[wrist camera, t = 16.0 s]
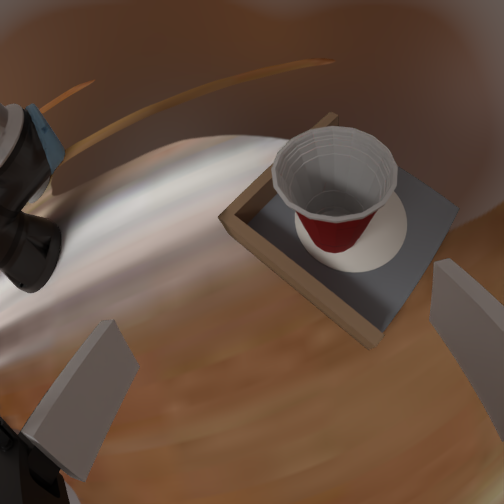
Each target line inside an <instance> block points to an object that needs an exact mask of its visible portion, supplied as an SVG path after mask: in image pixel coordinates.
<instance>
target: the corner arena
mask: <svg viewBox="0 0 504 504" xmlns="http://www.w3.org/2000/svg"><path fill="white" fill-rule="evenodd" d="M328 126H339V116H338V115H337V114H335V113H332V112H329V113H328V114H327V115H326V116H325V117H324V118H323V119H321V120H320V121H319V122H318V123H317V124H316V125H315V126H314V127H312V128H311V129H316V128H322V127H328ZM272 166H273V164H272V165H271V166H270V167H269V168H267V169H266V170H265V171H264V172H263V173H262V174H261V175H260V176H259V177H258V178H257V179H256V180H255V181H254V182H253V183H252V184H251V185H250V186H249V187H248V188H247V189H245V190H244V191H243V192H242V193H241V194H240V195H239V196H238V197H237V198H236V199H235V200H234V201H233V202H232V203H231V204H230V205H229V206H228V207H227V208H226V209H225V210H224V211H223V212H222V213H221V214H220V215H219V216H218V218H219V220H220V221H221V223H222V224H223V226H224V228H225V229H226V231H227V232H228V234H229V235H231V236H232V237H233V238H234V239H235V240H237V241H238V242H239V243H240V244H241V245H243V246H244V247H245V248H246V249H247V250H249V251H250V252H251V253H252V254H253V255H255V256H256V257H257V258H258V259H259V260H261V261H262V262H263V263H264V264H265V265H267V266H268V267H269V268H270V269H271V270H273V271H274V272H275V273H276V274H277V275H279V276H280V277H281V278H282V279H283V280H285V281H286V282H287V283H288V284H289V285H291V286H292V287H293V288H294V289H295V290H297V291H298V292H299V293H300V294H301V295H303V296H304V297H305V298H306V299H307V300H309V301H310V302H311V303H312V304H313V305H315V306H316V307H317V308H318V309H320V310H321V311H322V312H323V313H324V314H326V315H327V316H328V317H329V318H330V319H332V320H333V321H334V322H335V323H336V324H338V325H339V326H340V327H341V328H342V329H344V330H345V331H346V332H347V333H348V334H350V335H351V336H352V337H353V338H354V339H356V340H357V341H358V342H359V343H360V344H362V345H363V346H364V347H365V348H366V349H368V350H369V349H372V348H374V347H376V346H377V345H378V344H379V342H380V341H381V340H382V338H383V337H384V336H385V335H384V334H383V332H384V330H385V329H386V328H387V326H388V325H389V324H390V322H391V321H392V320H393V318H394V317H395V315H396V314H397V313H398V311H399V310H400V308H401V307H402V305H403V304H404V303H405V301H406V300H407V298H408V297H409V295H410V294H411V292H412V291H413V289H414V288H415V286H416V285H417V283H418V282H419V280H420V278H421V277H422V275H423V274H424V272H425V270H426V269H427V267H428V265H429V264H430V262H431V260H432V259H433V257H434V255H435V254H436V252H437V250H438V248H439V247H440V245H441V243H442V241H443V240H444V238H445V236H446V234H447V232H448V230H449V228H450V226H451V225H452V223H453V221H454V219H455V217H456V215H457V213H458V211H459V208H458V207H457V206H455V205H454V204H453V203H451V202H450V201H449V200H447V199H446V198H445V197H443V196H442V195H440V194H439V193H438V192H436V191H435V190H433V189H432V188H431V187H429V186H427V185H426V184H425V183H423V182H422V181H420V180H419V179H417V178H416V177H414V176H412V175H411V174H409V173H408V172H406V171H405V170H403V169H401V168H400V167H398V171H397V186H396V188H395V189H394V191H393V193H392V194H391V196H390V197H389V199H388V200H387V202H386V204H385V205H384V206H383V207H382V208H380V209H378V211H377V212H376V213H375V215H374V216H373V218H372V219H371V221H370V222H369V224H368V226H367V227H366V229H365V230H364V232H363V233H362V235H361V236H360V238H359V239H358V240H357V241H356V243H355V244H354V245H353V246H352V247H351V248H349V249H347V250H346V251H344V252H340V253H329V252H325V251H323V250H322V249H320V248H319V247H317V246H316V245H315V244H314V242H313V241H312V240H311V238H310V236H309V234H308V232H307V231H306V229H305V228H304V226H303V224H302V222H301V221H300V219H299V217H298V215H297V213H296V211H295V210H293V209H291V208H290V207H288V206H287V205H286V204H285V202H284V201H283V199H282V198H281V197H280V195H279V194H278V193H277V191H276V190H275V189H274V187H273V179H272V171H271V168H272Z"/></svg>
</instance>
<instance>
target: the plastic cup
mask: <svg viewBox="0 0 504 504" xmlns="http://www.w3.org/2000/svg"><path fill="white" fill-rule="evenodd" d="M271 171H272V179H273V187H274V189H275V190H276V191H277V193H278V194H279V195H280V197H281V198H282V199H283V201H284V202H285V204H286V205H287V206H288V207H290V208H291V209H293V210H295V211H296V213H297V215H298V217H299V219H300V221H301V222H302V224H303V226H304V228H305V229H306V231H307V232H308V234H309V236H310V238H311V240H312V241H313V242H314V244H315V245H316V246H317V247H319V248H320V249H322V250H323V251H325V252H329V253H340V252H344V251H346V250H347V249H349V248H351V247H352V246H353V245H354V244H355V243H356V241H357V240H358V239H359V238H360V236H361V235H362V233H363V232H364V230H365V229H366V227H367V226H368V224H369V222H370V221H371V219H372V218H373V216H374V215H375V213H376V212H377V211H378V209H380V208H382V207H383V206H384V205H385V204H386V202H387V200H388V199H389V197H390V196H391V194H392V193H393V191H394V189H395V188H396V186H397V171H398V166H397V164H396V162H395V160H394V158H393V156H392V154H391V152H390V150H389V149H388V148H387V147H386V146H385V145H384V144H382V143H381V142H380V141H379V140H378V139H377V138H375V137H374V136H372V135H370V134H367V133H365V132H363V131H360V130H357V129H355V128H349V127H339V126H328V127H322V128H316V129H310V130H308V131H306V132H304V133H302V134H300V135H298V136H296V137H294V138H292V139H291V140H290V141H289V142H288V143H287V144H286V145H285V146H284V147H283V148H282V149H281V150H280V151H279V152H278V153H277V156H276V158H275V161H274V163H273V166H272V168H271Z"/></svg>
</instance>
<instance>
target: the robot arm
mask: <svg viewBox="0 0 504 504" xmlns="http://www.w3.org/2000/svg"><path fill="white" fill-rule="evenodd" d="M64 156H65V150H64V147H63V146H62V144H61V142H60V141H59V139H58V138H57V136H56V135H55V133H54V132H53V130H52V129H51V127H50V126H49V124H48V123H47V121H46V120H45V118H44V117H43V115H42V114H41V112H40V111H39V109H38V108H37V107H36V106H35V104H30V105H29V106H27V107H26V108H25V110H24V109H23V108H22V107H21V106H19V105H17V104H10V105H7V106H5V107H4V106H3V105H2V104H1V103H0V270H1V271H2V272H3V273H4V274H5V275H6V276H7V277H8V279H9V280H10V281H11V282H12V283H13V284H14V285H15V286H16V287H17V288H19V289H20V290H23V291H25V292H27V293H34V292H36V291H38V290H39V289H40V288H41V287H42V286H43V285H44V284H45V283H46V282H47V280H48V279H49V277H50V275H51V273H52V272H53V269H54V267H55V265H56V262H57V259H58V256H59V252H60V246H61V234H60V230H59V227H58V226H57V225H56V224H55V223H53V222H52V221H51V220H49V219H47V218H43V217H39V216H35V215H30V214H26V213H24V212H22V211H21V210H22V208H23V207H24V206H25V205H26V203H27V202H28V201H29V200H30V199H31V197H32V196H33V195H34V194H35V193H36V191H37V190H38V189H39V188H40V187H41V186H42V185H43V183H44V182H45V181H46V180H47V179H48V178H49V177H50V176H51V175H52V174H53V173H54V170H55V169H56V168H57V167H58V165H59V164H60V163H61V162H62V161H63V159H64ZM429 321H430V322H431V324H432V325H433V326H434V328H435V329H436V331H437V332H438V334H439V335H440V337H441V338H442V339H443V341H444V342H445V344H446V345H447V347H448V348H449V350H450V351H451V353H452V354H453V356H454V358H455V359H456V361H457V362H458V364H459V365H460V367H461V369H462V370H463V372H464V373H465V375H466V377H467V378H468V380H469V382H470V383H471V385H472V387H473V388H474V390H475V392H476V393H477V395H478V397H479V399H480V400H481V402H482V404H483V406H484V408H485V409H486V411H487V413H488V415H489V417H490V419H491V421H492V422H493V424H494V426H495V428H496V430H497V432H498V434H499V436H500V438H501V440H502V442H503V441H504V306H503V305H502V304H501V303H500V302H499V301H498V300H497V299H496V298H494V297H493V296H492V295H491V294H490V293H489V292H488V291H487V290H486V289H485V288H484V287H483V286H481V285H480V284H479V283H478V282H477V281H476V280H475V279H474V278H472V277H471V276H470V275H469V274H468V273H467V272H465V271H464V270H463V269H462V268H461V267H460V266H458V265H457V264H456V263H455V262H454V261H452V260H451V259H450V258H447V259H444V260H440V261H436V262H434V271H433V287H432V299H431V309H430V318H429ZM139 367H140V366H139V364H138V362H137V361H136V359H135V357H134V356H133V354H132V352H131V350H130V349H129V347H128V345H127V343H126V341H125V339H124V338H123V336H122V334H121V332H120V330H119V328H118V326H117V324H116V322H115V320H104V321H101V322H100V323H99V324H98V326H97V327H96V328H95V329H94V331H93V332H92V333H91V334H90V336H89V337H88V338H87V339H86V341H85V342H84V343H83V344H82V346H81V347H80V348H79V350H78V351H77V352H76V354H75V355H74V356H73V357H72V359H71V360H70V361H69V363H68V364H67V365H66V367H65V368H64V369H63V371H62V372H61V374H60V375H59V376H58V378H57V379H56V380H55V382H54V383H53V385H52V386H51V387H50V389H49V390H48V391H47V392H46V394H45V395H44V397H43V398H42V400H41V401H40V403H39V404H38V405H37V408H35V410H34V411H33V413H32V414H31V416H30V417H29V419H28V420H27V422H26V423H25V425H24V427H23V428H22V430H21V431H20V433H19V434H18V435H17V434H16V433H15V432H14V431H13V430H12V429H11V428H10V426H9V425H8V424H7V423H6V422H5V421H4V420H3V419H2V418H1V417H0V504H70V502H69V499H68V495H67V491H66V486H65V482H64V479H63V476H62V475H61V474H60V473H59V471H60V469H62V470H63V471H64V472H65V473H67V474H68V475H69V476H70V477H72V478H75V479H78V480H80V481H83V482H85V481H86V479H87V476H88V474H89V472H90V469H91V467H92V465H93V463H94V460H95V458H96V456H97V454H98V452H99V449H100V447H101V445H102V443H103V441H104V439H105V436H106V434H107V432H108V430H109V428H110V426H111V424H112V422H113V420H114V418H115V415H116V413H117V411H118V409H119V407H120V405H121V403H122V401H123V399H124V397H125V395H126V393H127V391H128V389H129V387H130V385H131V383H132V381H133V379H134V377H135V375H136V373H137V371H138V369H139Z"/></svg>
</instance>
